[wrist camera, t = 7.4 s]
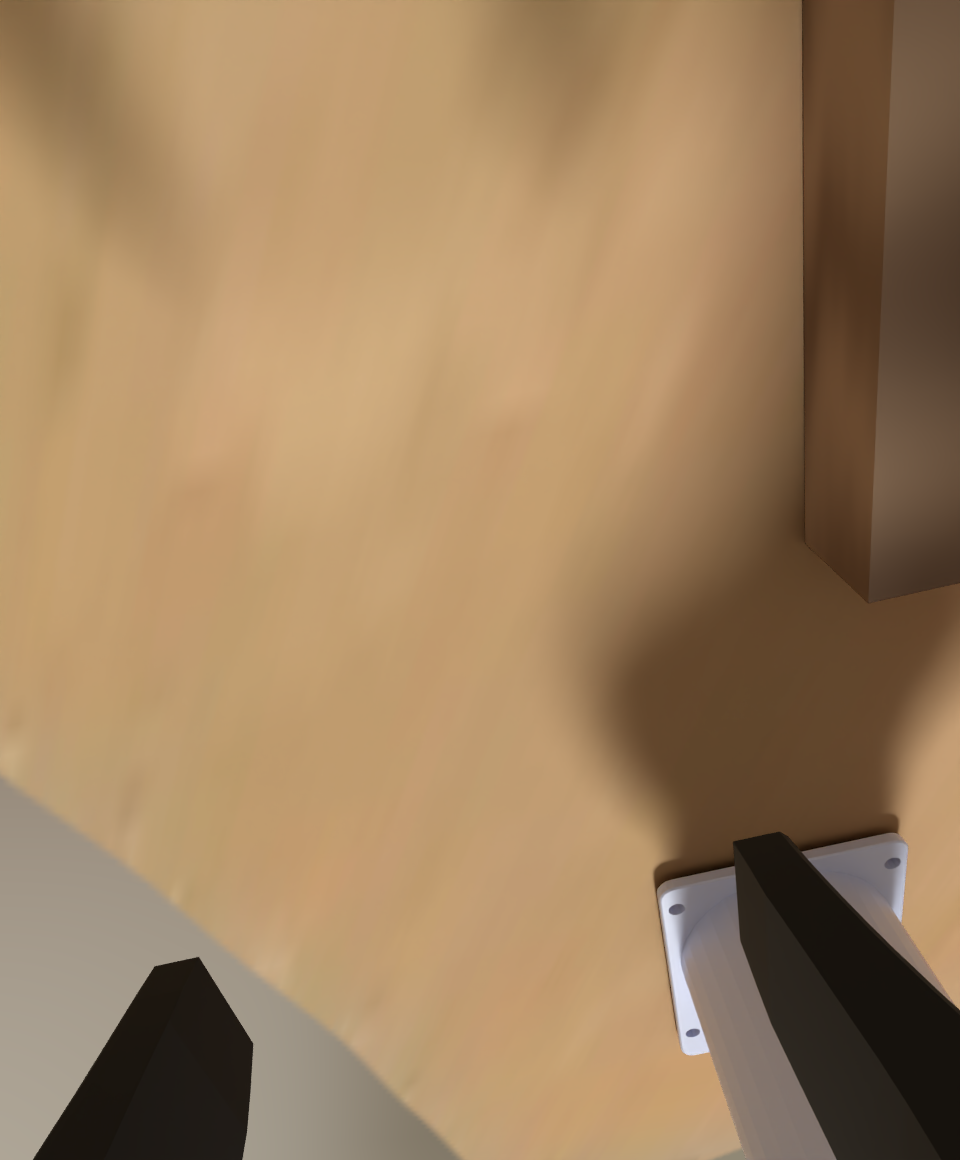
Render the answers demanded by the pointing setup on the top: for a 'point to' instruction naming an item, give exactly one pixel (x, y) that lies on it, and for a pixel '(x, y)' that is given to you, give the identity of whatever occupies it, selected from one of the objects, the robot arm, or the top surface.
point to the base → (882, 291)
